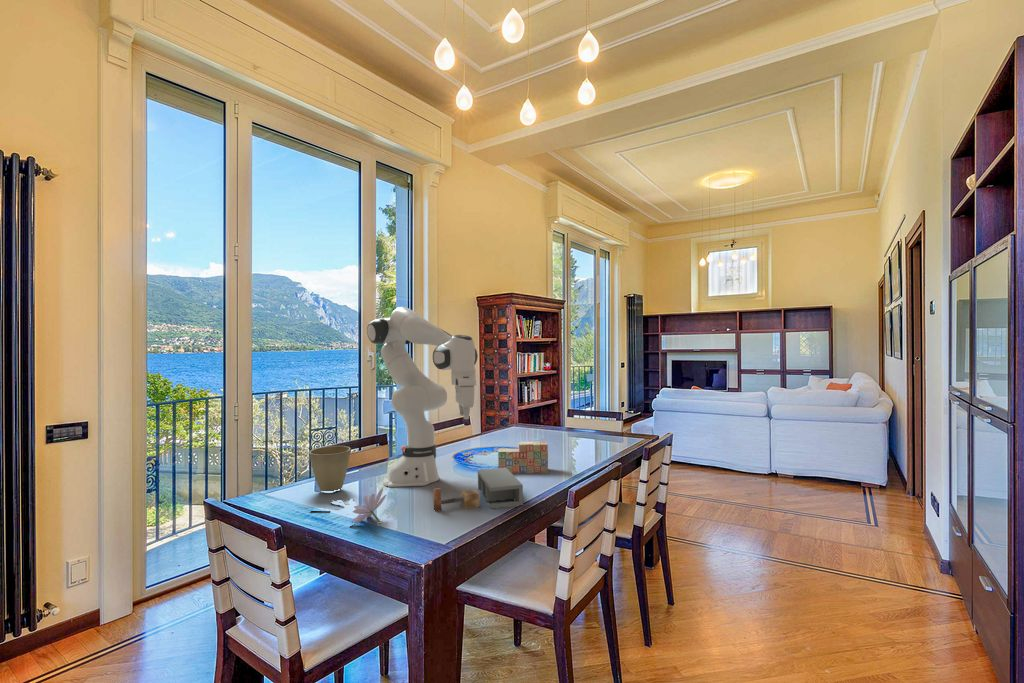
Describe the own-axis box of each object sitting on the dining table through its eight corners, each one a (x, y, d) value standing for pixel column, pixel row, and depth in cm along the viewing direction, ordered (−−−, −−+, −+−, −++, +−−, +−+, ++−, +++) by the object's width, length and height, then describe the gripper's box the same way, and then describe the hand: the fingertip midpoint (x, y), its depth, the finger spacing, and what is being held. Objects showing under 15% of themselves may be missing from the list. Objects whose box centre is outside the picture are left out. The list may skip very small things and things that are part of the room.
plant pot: (306, 490, 198) (305, 449, 198) (344, 483, 206) (343, 444, 206) (315, 499, 185) (315, 456, 185) (356, 492, 194) (355, 450, 194)
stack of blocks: (498, 473, 217) (497, 444, 217) (498, 469, 223) (498, 441, 223) (548, 472, 217) (547, 443, 217) (547, 469, 223) (546, 441, 223)
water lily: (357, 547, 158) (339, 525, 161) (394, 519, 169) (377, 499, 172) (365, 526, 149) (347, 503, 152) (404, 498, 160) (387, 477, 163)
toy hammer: (435, 512, 169) (434, 491, 169) (432, 508, 173) (431, 487, 173) (479, 506, 174) (478, 486, 174) (475, 502, 179) (474, 482, 179)
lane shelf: (491, 508, 171) (490, 487, 171) (478, 488, 195) (477, 469, 195) (522, 505, 174) (522, 484, 174) (506, 485, 198) (506, 467, 198)
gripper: (451, 377, 194) (452, 413, 195) (458, 381, 175) (459, 421, 175) (467, 377, 196) (468, 412, 196) (476, 381, 176) (477, 420, 176)
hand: (464, 417), depth 185 cm, fingers open, 8 cm apart
